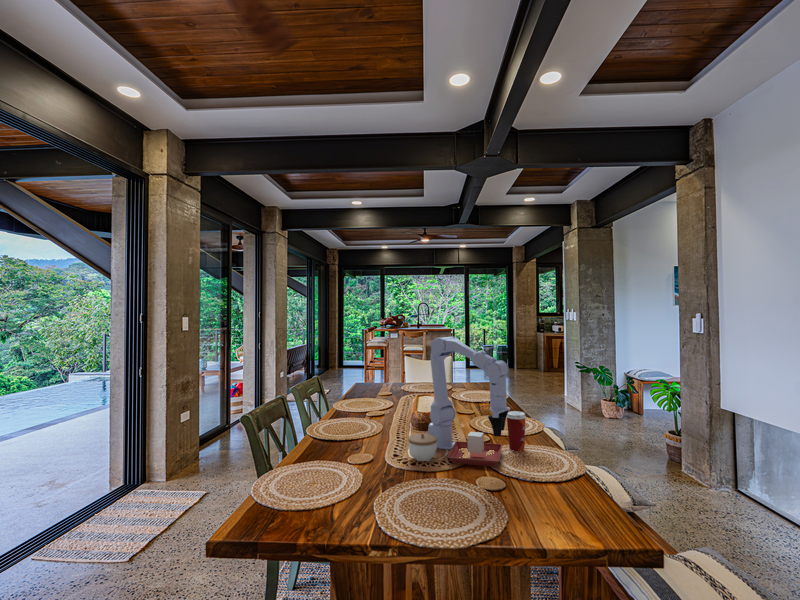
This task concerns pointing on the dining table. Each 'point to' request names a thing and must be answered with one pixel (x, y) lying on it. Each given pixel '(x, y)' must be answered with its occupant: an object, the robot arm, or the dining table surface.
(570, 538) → the dining table surface
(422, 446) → the lidded jar
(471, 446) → the block
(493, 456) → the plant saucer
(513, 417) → the paper cup
